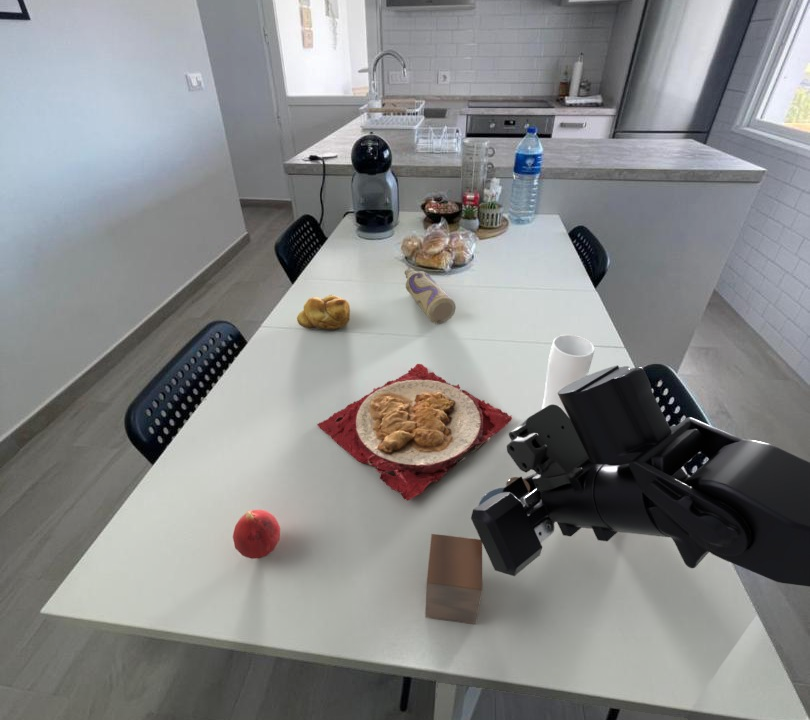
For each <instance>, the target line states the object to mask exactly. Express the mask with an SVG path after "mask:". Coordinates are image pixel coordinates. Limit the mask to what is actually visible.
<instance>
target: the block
mask: <svg viewBox="0 0 810 720" xmlns="http://www.w3.org/2000/svg"><path fill="white" fill-rule="evenodd" d="M429 545H430V546H429V556H428V565H427V574H426V587H425V589H426V590H425V612H424V615H425V616H424V618H427V619H434V620H441V621H448V622H455V623H463V624H470V625H477V620H478V615H479V611H480V603H481V598H482V594H483V543H482V541H481V539H480V538H471V537H462V536H453V535H445V534H437V533H431V534H430V544H429Z"/></svg>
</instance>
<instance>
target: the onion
mask: <svg viewBox="0 0 810 720" xmlns="http://www.w3.org/2000/svg"><path fill="white" fill-rule="evenodd" d="M233 529H234V530H233V533H232V539H233V540H232V541H233V544H234V549H235V550H236V551H237V552H238V553H239V554H240V555H241V556H242V557H245V558H249V559H251V560H255V559H256V560H257V559H261V558H265V557H266V556H269V554H271V553H272V552H273V551H275V549H276V547H277V546H278V544H279V542H280V540H281V527H280V524H279V522H278V519H277V518H276V517H275V515H273V514H272V513H270V512H269V511H267V510H263V509H252V510H248V511H246V513H245V514H243V515H242V516H241V517H240V518H239V519H238V521H237V522H236V524H235V525H234V528H233Z"/></svg>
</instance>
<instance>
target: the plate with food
mask: <svg viewBox="0 0 810 720" xmlns="http://www.w3.org/2000/svg"><path fill="white" fill-rule="evenodd" d="M407 371H408V372H407V373H405V374H403V375H401V376H400V377H398V378H396V379H394V380H393V379H392V380H388V381H386V383H384V385H382V386H378V387H374V388H373V389H372V391H371V392H370V393H368V394H366V395H364V396H363V397H361V398H360V399H359V400H356V401H353V402H352V403H351V402H350V403H349V404H348V405H346V407H345V408H343V409H340V410H338V411H337V412H334V413H333V414H332V415H331V416H329V417H328V418H327V419H324V420H323V421H321V422H319V423H316V425H317V426H318V427H319V429H321V430H322V431H323V432H324V433H325V434H326V435H329V436H330V437H331V439H332V440H333V441H334V442H335V443H336V444H337V445H339V446H340V447H341V448H342V449H344V451H346V452H347V453H348V454H350V456H351V457H353V458H354V459H355V460H356V461H358V462H359V463H361V464H367V465H369V466H372V467H374V468H376V472H378V473H379V474H380V476H379V480H380V481H382V482H383V483H384V484H385V485H386V486H387V487H389V488H390V489H391V490H393V491H396V492H397V493H401V496H402V498H403V499H404V500H405V501H409V500H412V499H413V498H415V497H417V496H418V495H420V494H422V493H423V492H424V491H425V489H426V487H428V485H430V484H431V483H438V481H440V479H442V477H443V476H444V475H445V474H446V473H448V472H449V471H450V470H453V468H455V467H456V466H457V465H458V464H459V463H460V462H463V461H464V460H465V459H466V456H464V457H462V456H463V455H464V454H465V453H467V452H468V451H469V450H470V449H471V448H474V449H472V450H470V453H475V452H476V451H478V449H480V448H481V447H482V446H483V445H484V444H485V443H489V441H491V438H492V436H493V435H496V434H497V433H499V432H500V431H501V430H502V429H503V428H505V427H506V426H508V424H509V423H510V422H511V421H512V419H513V417H512V415H509V414H508V413H507V412H505V411H503V410H501V408H497V407H494V406H493V405H491V404H490V403H489V402H487V403H486V402H485V400H484V399H483V400H481V399H480V398H478V397H476V396H474V395H472V394H470V392H468V391H467V390H465V389H464V390H463V389H461V387H460V384H455V385H454V384H451V383H449V382H447V381H446V380H445V379H443V377H441V376H438V375H436V373H435V372H434V371H432V372H429V369H428V368H427V367H426V366H425V365H423V364H422V363H417V364H416V365H414V367H410V369H408V370H407ZM340 418H341V419H340ZM338 419H340V420H339V421H338ZM461 457H462V458H461ZM387 472H394V475H392V474H389V473H387Z"/></svg>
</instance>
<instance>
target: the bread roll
mask: <svg viewBox="0 0 810 720" xmlns="http://www.w3.org/2000/svg"><path fill="white" fill-rule="evenodd" d="M350 307H351V306H350V303H349V301H348V300H347V299H345V298H342V297H340V296H338V295H333V294H328V295H327V296H324V297H323V298H321V297H319V296H313V297H309V298H308V299H307V300H306V301H305V302H304V305H303V310H301V311H300V312H299V313H298V314H297V316H296V321H297V323H298V325H299V326H300V327H303V328H305V329H318V330H324V331H334V330H339V329H342V328H344V327H345V326H346V325H347V324H348V323H349V321H350V319H351V308H350Z"/></svg>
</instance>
